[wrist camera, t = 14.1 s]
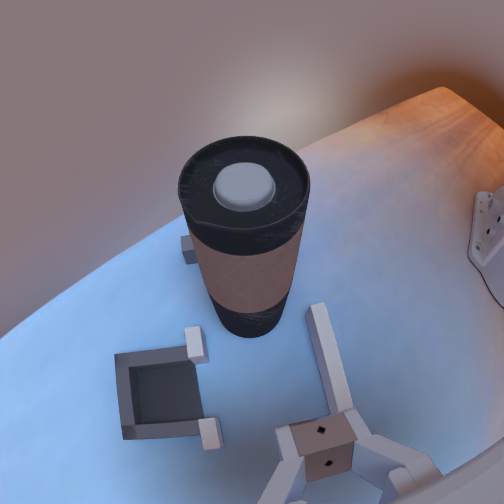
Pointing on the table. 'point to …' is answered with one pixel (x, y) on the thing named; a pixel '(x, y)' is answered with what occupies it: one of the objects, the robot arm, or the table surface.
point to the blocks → (326, 361)
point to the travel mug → (246, 226)
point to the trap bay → (158, 394)
